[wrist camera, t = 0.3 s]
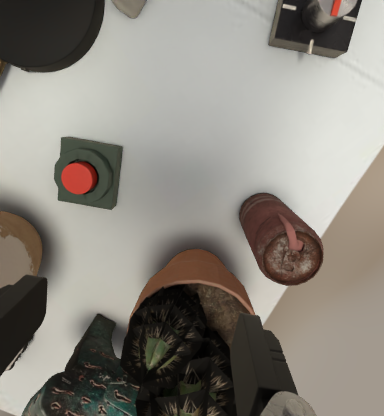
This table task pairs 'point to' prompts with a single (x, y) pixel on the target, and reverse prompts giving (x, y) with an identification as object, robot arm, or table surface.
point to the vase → (18, 249)
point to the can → (280, 240)
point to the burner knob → (325, 13)
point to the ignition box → (104, 166)
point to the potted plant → (185, 338)
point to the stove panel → (305, 39)
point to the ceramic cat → (88, 381)
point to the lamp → (47, 32)
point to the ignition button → (79, 177)
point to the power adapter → (130, 6)
